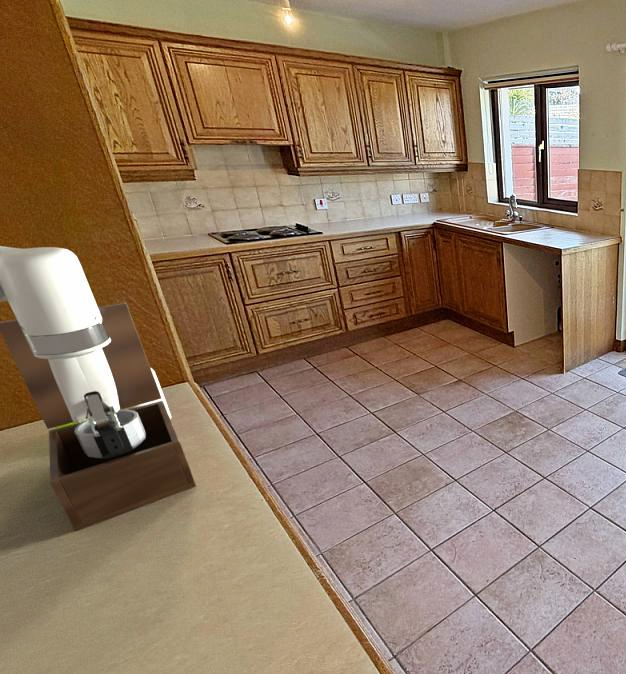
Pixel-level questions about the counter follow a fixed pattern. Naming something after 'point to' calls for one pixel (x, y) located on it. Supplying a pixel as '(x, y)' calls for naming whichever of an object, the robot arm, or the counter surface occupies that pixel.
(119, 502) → the chest
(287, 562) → the counter surface
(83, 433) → the bowl
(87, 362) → the robot arm
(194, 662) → the counter surface
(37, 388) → the lid
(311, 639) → the counter surface
